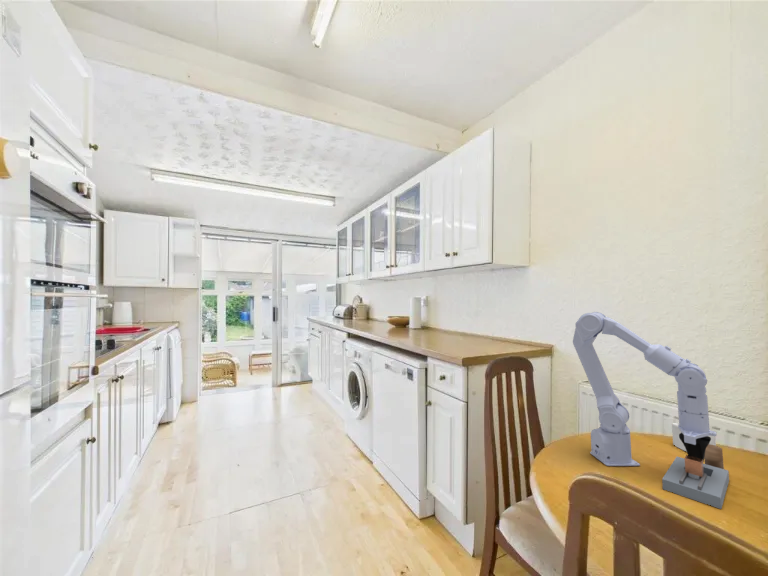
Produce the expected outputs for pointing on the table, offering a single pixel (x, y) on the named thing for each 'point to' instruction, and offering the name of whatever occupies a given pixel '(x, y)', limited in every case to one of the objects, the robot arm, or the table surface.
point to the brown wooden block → (714, 456)
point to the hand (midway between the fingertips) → (696, 464)
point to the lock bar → (694, 467)
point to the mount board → (697, 483)
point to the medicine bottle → (678, 442)
